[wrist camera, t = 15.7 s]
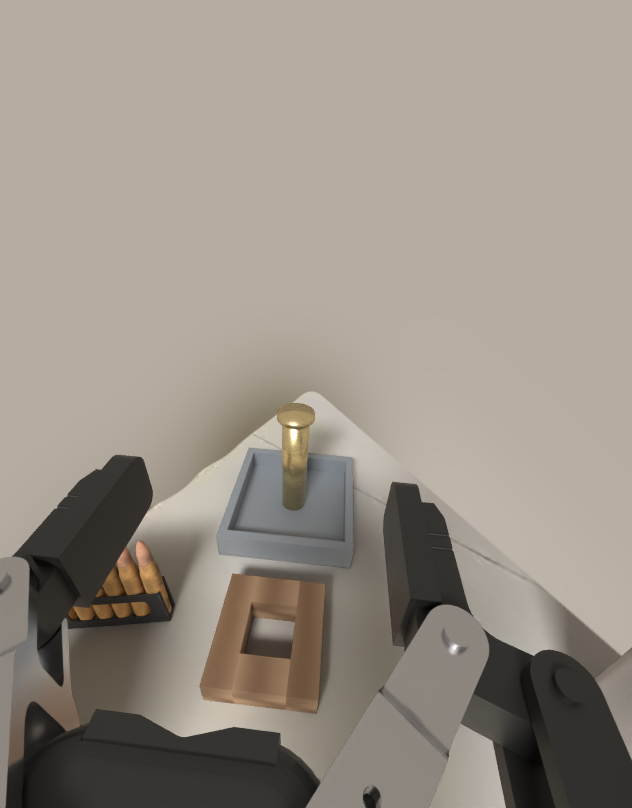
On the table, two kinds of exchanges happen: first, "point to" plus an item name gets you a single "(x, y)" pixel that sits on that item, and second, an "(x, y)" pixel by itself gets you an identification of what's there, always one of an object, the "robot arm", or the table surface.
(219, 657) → the socket block
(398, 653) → the table surface
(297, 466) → the pin
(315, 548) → the slate tray
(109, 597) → the ammunition clip
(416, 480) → the table surface
